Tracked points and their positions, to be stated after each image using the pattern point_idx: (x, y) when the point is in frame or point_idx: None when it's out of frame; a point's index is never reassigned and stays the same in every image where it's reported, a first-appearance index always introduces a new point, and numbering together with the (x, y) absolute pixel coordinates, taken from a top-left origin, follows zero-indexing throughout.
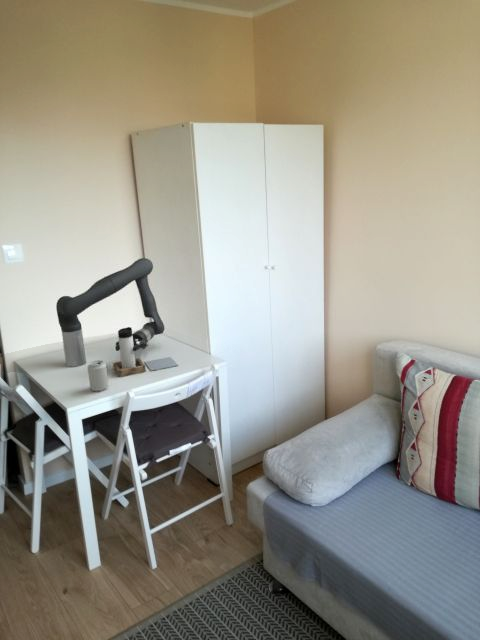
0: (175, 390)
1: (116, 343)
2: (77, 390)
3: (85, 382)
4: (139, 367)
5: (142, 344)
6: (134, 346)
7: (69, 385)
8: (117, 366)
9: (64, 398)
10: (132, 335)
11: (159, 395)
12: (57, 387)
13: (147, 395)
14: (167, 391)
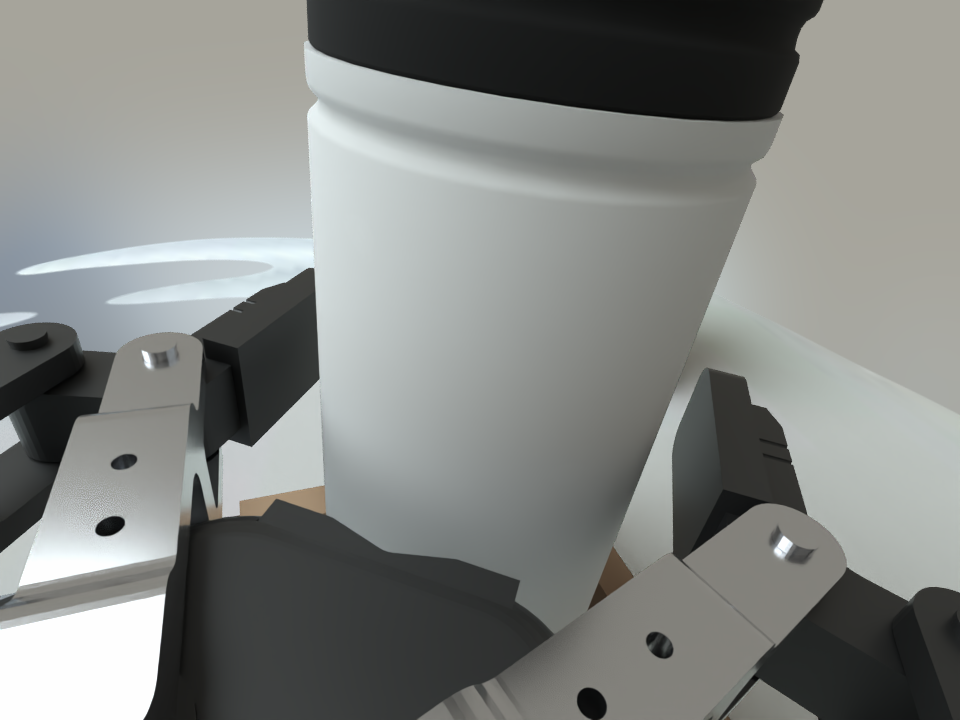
0: (123, 257)
1: (948, 605)
2: (752, 372)
3: (799, 467)
4: (290, 494)
5: (67, 334)
6: (308, 283)
7: (888, 446)
8: (607, 582)
9: (751, 319)
10: (306, 42)
11: (238, 245)
12: (949, 436)
13: (302, 256)
14: (176, 259)
